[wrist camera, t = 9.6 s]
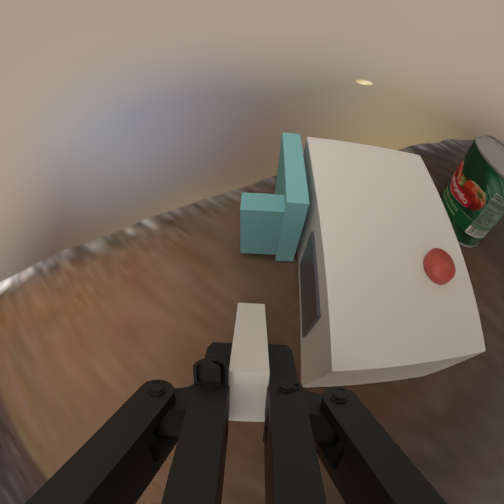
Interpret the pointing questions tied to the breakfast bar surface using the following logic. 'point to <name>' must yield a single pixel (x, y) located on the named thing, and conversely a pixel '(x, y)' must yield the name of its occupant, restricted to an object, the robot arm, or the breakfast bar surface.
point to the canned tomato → (476, 192)
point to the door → (277, 207)
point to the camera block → (379, 270)
